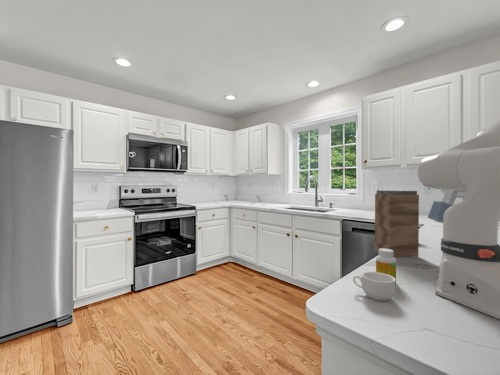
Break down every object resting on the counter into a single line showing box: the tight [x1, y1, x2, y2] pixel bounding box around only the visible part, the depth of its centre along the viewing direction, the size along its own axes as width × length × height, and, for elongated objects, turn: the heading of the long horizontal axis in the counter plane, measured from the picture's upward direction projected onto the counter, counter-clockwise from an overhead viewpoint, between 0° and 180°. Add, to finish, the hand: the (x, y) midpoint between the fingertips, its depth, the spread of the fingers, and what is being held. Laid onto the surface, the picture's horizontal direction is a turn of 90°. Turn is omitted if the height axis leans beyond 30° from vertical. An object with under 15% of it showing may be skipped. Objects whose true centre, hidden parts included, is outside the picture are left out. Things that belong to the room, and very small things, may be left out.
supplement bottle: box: [375, 248, 397, 285], centre depth 75 cm, size 5×5×10 cm
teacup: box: [352, 271, 396, 302], centre depth 65 cm, size 10×8×5 cm
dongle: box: [427, 190, 459, 224], centre depth 111 cm, size 5×22×6 cm
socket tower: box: [374, 190, 420, 258], centre depth 108 cm, size 10×14×28 cm
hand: (452, 182), depth 111 cm, fingers closed on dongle, 4 cm apart
